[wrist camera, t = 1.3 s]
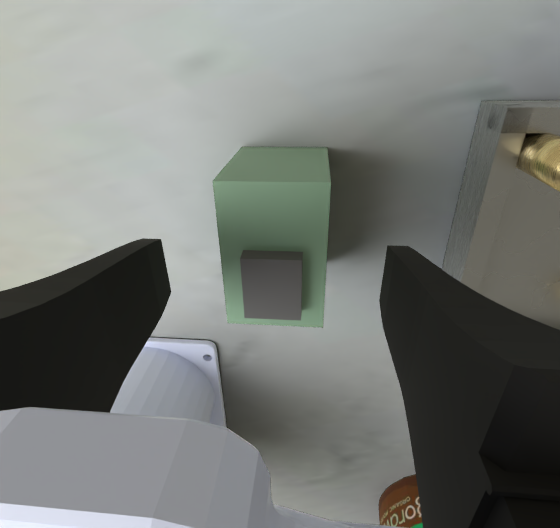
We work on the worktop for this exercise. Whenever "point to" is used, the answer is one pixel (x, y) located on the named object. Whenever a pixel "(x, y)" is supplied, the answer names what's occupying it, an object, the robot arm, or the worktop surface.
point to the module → (274, 234)
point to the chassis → (511, 210)
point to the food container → (401, 504)
